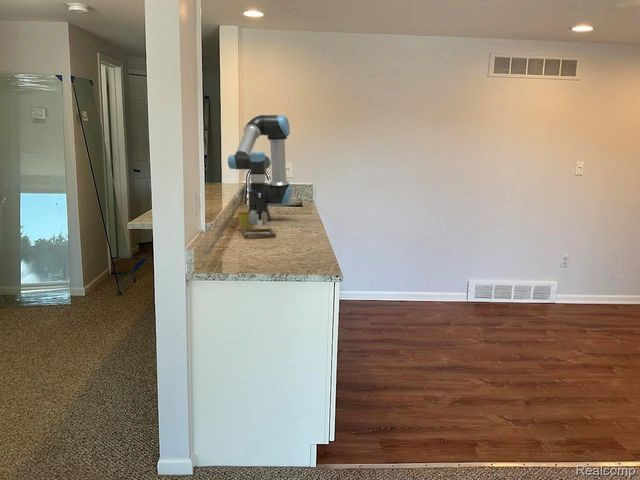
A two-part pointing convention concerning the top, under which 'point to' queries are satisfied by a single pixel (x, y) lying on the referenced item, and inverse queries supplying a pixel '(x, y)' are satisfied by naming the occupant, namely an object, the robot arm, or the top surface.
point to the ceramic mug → (254, 217)
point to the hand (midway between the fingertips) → (258, 224)
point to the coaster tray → (258, 233)
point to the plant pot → (244, 221)
